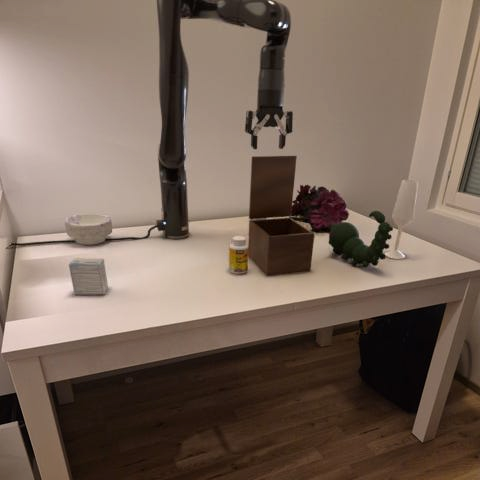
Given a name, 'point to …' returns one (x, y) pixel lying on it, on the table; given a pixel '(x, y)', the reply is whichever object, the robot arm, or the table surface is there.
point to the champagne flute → (403, 212)
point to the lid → (271, 186)
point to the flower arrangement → (319, 208)
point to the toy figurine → (360, 242)
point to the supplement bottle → (238, 255)
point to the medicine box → (88, 276)
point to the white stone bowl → (88, 228)
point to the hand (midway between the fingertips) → (267, 148)
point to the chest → (280, 246)
